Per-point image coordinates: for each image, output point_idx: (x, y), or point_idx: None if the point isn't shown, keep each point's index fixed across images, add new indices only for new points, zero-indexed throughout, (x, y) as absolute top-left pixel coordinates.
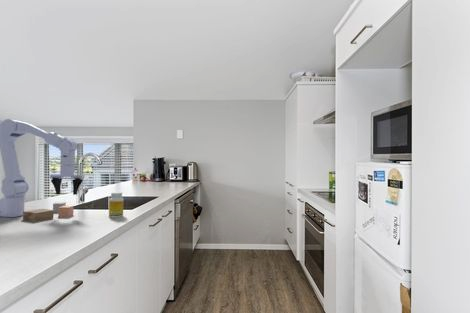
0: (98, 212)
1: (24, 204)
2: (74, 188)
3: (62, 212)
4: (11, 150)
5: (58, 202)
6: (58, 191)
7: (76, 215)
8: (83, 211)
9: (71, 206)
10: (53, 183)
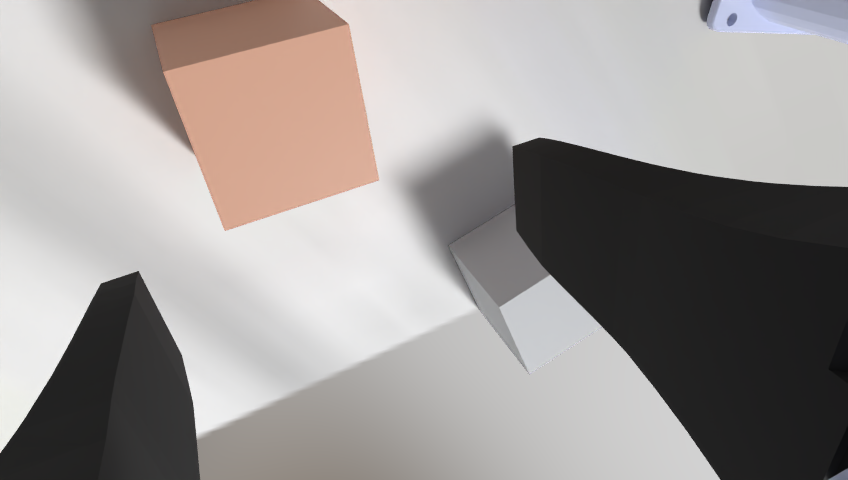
0: None
1: (845, 15)
2: (71, 390)
3: (258, 18)
4: None
5: (587, 324)
6: (551, 205)
7: (140, 162)
8: (271, 367)
9: (211, 177)
10: (821, 196)
